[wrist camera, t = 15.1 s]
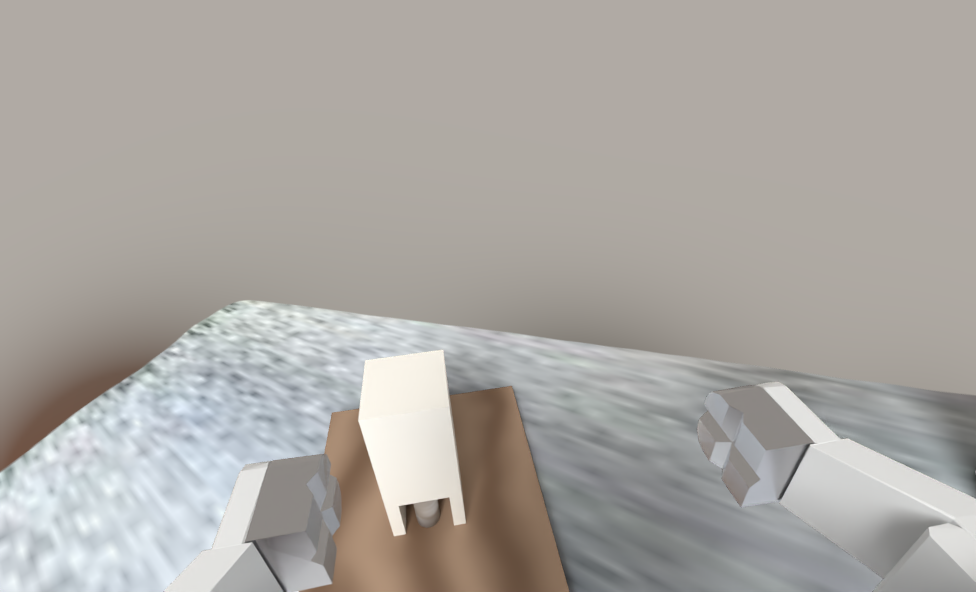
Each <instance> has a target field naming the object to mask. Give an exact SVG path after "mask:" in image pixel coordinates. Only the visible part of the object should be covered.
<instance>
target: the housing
mask: <svg viewBox="0 0 976 592" xmlns="http://www.w3.org/2000/svg"><path fill="white" fill-rule="evenodd" d="M358 421H359V425H360V428H361V431H362V434H363V437H364V441H365V444H366V447H367V450H368V454H369V457H370V460H371V463H372V467H373V470H374V473H375V476H376V480H377V483H378V486H379V489H380V493H381V496H382V499H383V502H384V506H385V509H386V512H387V515H388V518H389V522H390V525H391V528H392V531H393V535H394V536H398V535H404V534H406V505H408V504H413V503H419V502H425V501H431V500H437V499H442V498H448V497H449V498H450V504H451V510H452V516H453V522H454V525H460V524H465V523H466V519H465V511H464V502H463V493H462V485H461V476H460V468H459V460H458V452H457V445H456V438H455V431H454V424H453V416H452V409H451V402H450V395H449V388H448V381H447V373H446V366H445V359H444V352H443V350H437V351H430V352H423V353H415V354H408V355H401V356H394V357H387V358H380V359H372V360H365V367H364V375H363V384H362V392H361V401H360V409H359V418H358Z"/></svg>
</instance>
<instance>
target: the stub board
mask: <svg viewBox="0 0 976 592" xmlns="http://www.w3.org/2000/svg"><path fill="white" fill-rule="evenodd" d="M450 402H451V409H452V416H453V424H454V431H455V438H456V445H457V452H458V460H459V468H460V476H461V485H462V493H463V502H464V511H465V519H466V523H465V524H460V525H454V522H453V516H452V510H451V504H450V498H449V497H448V498H442V499H437V500H431V501H425V502H419V503H413V504H408V505H406V534H404V535H398V536H394V535H393V531H392V528H391V525H390V522H389V518H388V515H387V512H386V509H385V506H384V502H383V499H382V496H381V493H380V489H379V486H378V483H377V480H376V476H375V473H374V470H373V467H372V463H371V460H370V457H369V454H368V450H367V447H366V444H365V441H364V437H363V434H362V431H361V428H360V425H359V421H358V418H359V409H354V410H348V411H341V412H334V413H332V415H331V421H330V426H329V431H328V437H327V442H326V447H325V453H324V454H327V456H328V458H329V460H330V462H331V469H330V475H332V476H334V477H336V478H337V480H338V483H339V486H340V492H341V505H342V512H341V521H340V526H339V528H338V529H337V530H336V532H335V533H334V534H333V535H332V537H333V540H334V542H335V544H336V547H337V553H336V560H335V567H334V575H333V582H332V584H329V585H324V586H320V587H315V588H310V589H306V590H301V591H299V592H569V589H568V585H567V581H566V578H565V574H564V571H563V567H562V564H561V560H560V556H559V553H558V549H557V546H556V542H555V539H554V535H553V531H552V528H551V524H550V521H549V517H548V514H547V510H546V506H545V503H544V499H543V496H542V492H541V489H540V485H539V481H538V478H537V474H536V471H535V467H534V464H533V460H532V456H531V453H530V449H529V446H528V442H527V439H526V435H525V431H524V428H523V424H522V421H521V417H520V414H519V410H518V406H517V403H516V399H515V396H514V392H513V389H512V386H509V387H502V388H495V389H489V390H482V391H475V392H468V393H462V394H455V395H450Z"/></svg>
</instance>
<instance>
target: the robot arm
mask: <svg viewBox="0 0 976 592" xmlns="http://www.w3.org/2000/svg"><path fill="white" fill-rule="evenodd" d="M704 405H705V407H706V408H707V410H708V411H707V412H706V413H705V414H704V415H703V416H702V417H701V418H700V419H699V423H698V427H697V433H698V440H699V443H700V445H701V448H702V450H703V452H704V454H705V455H706V457H707V458H708V460H709V461H710V462H712V463H713V464H715V465H717V466H718V467H720V468H721V469H722V481H723V482H724V483H725V485H726V486H727V488H728V489H729V491H730V492H731V494H732V495H733V497H734V498H735V500H736V501H737V502H738V504H739V505H740V507H747V506H753V505H760V504H766V503H772V502H779V501H780V503H779V504H780V505H782V506H783V507H785V508H786V509H787V510H789V511H790V512H792V513H793V514H794V515H796V516H797V517H798V518H800V519H801V520H803V521H804V522H805V523H807V524H808V525H810V526H811V527H812V528H814V529H815V530H816V531H818V532H819V533H821V534H822V535H823V536H825V537H826V538H828V539H829V540H830V541H832V542H833V543H835V544H836V545H837V546H839V547H840V548H841V549H843V550H844V551H846V552H847V553H848V554H850V555H851V556H853V557H854V558H855V559H857V560H858V561H859V562H861V563H862V564H864V565H865V566H866V567H868V568H869V569H871V570H872V571H873V572H875V573H876V574H878V575H879V576H880V577H882V578H883V580H882V581H881V582H880V583H879V584H878V586H877V587H876V588H875V589H874V590H873V591H872V592H976V499H975V498H973V497H971V496H969V495H967V494H965V493H963V492H961V491H958V490H956V489H954V488H952V487H950V486H948V485H946V484H944V483H941V482H939V481H937V480H935V479H933V478H931V477H929V476H927V475H924V474H922V473H920V472H918V471H916V470H914V469H912V468H910V467H907V466H905V465H903V464H901V463H899V462H897V461H895V460H892V459H890V458H888V457H886V456H884V455H882V454H880V453H878V452H875V451H873V450H871V449H869V448H867V447H865V446H863V445H861V444H858V443H856V442H854V441H852V440H850V439H848V438H845V439H840V438H839V437H838V436H837V435H836V434H835V433H834V432H833V431H831V430H830V429H829V428H828V427H827V426H826V425H825V424H824V423H823V422H822V421H821V420H820V419H819V418H818V417H817V416H816V415H815V414H814V413H813V412H812V411H811V410H810V409H809V408H808V407H807V406H806V405H805V404H804V403H803V402H802V401H801V400H800V399H799V398H798V397H797V396H796V395H795V394H794V393H793V392H792V391H791V390H790V389H789V388H788V387H786V386H785V385H784V384H782V383H780V382H778V381H776V382H769V383H763V384H757V385H748V386H742V387H736V388H731V389H725V390H719V391H713V392H710V393H709V394H708V395H707V396H706V399H705V402H704ZM330 469H331V462H330V460H329V458H328V456H327V454H319V455H311V456H304V457H296V458H288V459H281V460H273V461H267V462H260V463H253V464H246V465H245V466H244V467H243V469H242V470H241V471H240V473H239V475H238V477H237V480H236V483H235V486H234V488H233V491H232V494H231V497H230V499H229V502H228V505H227V507H226V510H225V513H224V516H223V518H222V521H221V524H220V527H219V529H218V532H217V535H216V537H215V540H214V543H213V546H212V548H211V549H208V550H204V551H202V552H201V553H200V554H199V555H198V556H197V557H196V558H195V559H194V560H193V561H192V562H191V563H190V564H189V565H188V567H187V568H186V569H185V570H184V571H183V572H182V573H181V574H180V575H179V576H178V577H177V578H176V579H175V580H174V581H173V582H172V583H171V584H170V585H169V586H168V587H167V588H166V589H165V591H164V592H296V591H301V590H306V589H310V588H315V587H320V586H324V585H329V584H332V582H333V575H334V567H335V560H336V553H337V547H336V544H335V542H334V540H333V537H332V535H333V534H334V533H335V532H336V530H337V529H338V528H339V526H340V521H341V512H342V505H341V492H340V486H339V483H338V480H337V478H336V477H334V476H332V475H330ZM975 473H976V470H975Z"/></svg>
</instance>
